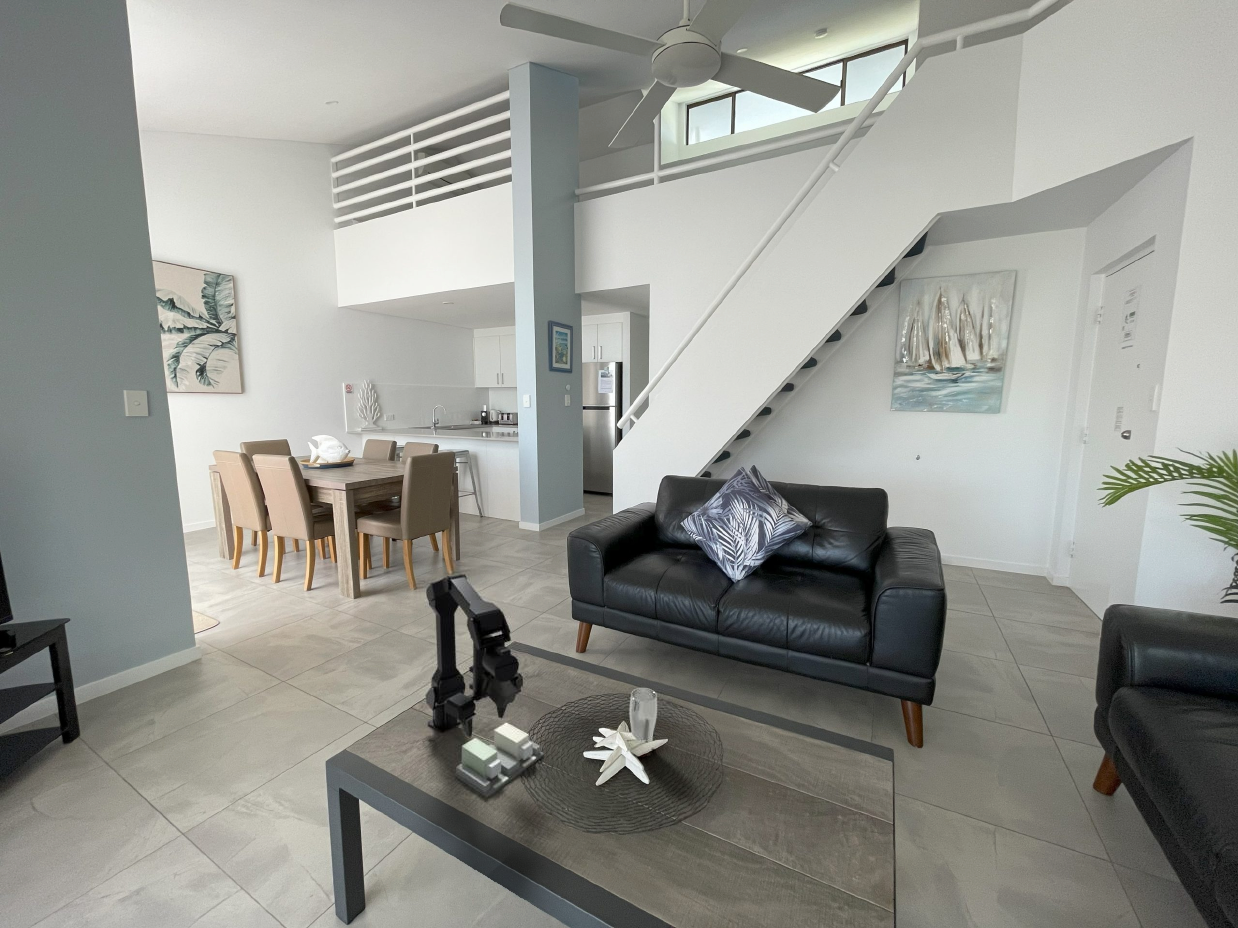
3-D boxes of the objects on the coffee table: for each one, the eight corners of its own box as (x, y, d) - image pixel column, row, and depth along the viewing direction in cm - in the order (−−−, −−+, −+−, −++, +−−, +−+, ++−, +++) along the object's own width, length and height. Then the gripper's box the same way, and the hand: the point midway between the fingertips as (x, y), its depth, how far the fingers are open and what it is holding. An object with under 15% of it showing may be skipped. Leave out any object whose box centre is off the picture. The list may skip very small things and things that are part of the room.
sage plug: (461, 765, 124) (461, 745, 124) (475, 756, 128) (475, 737, 127) (489, 784, 118) (489, 764, 118) (502, 774, 122) (503, 755, 121)
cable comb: (455, 776, 122) (455, 767, 121) (512, 737, 136) (513, 729, 136) (486, 797, 115) (487, 788, 115) (543, 755, 130) (543, 746, 130)
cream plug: (494, 748, 131) (494, 729, 130) (505, 740, 134) (506, 722, 134) (522, 765, 125) (522, 745, 125) (534, 756, 128) (534, 737, 128)
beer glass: (653, 760, 129) (655, 703, 128) (625, 756, 131) (627, 699, 129) (656, 743, 136) (659, 689, 134) (630, 739, 137) (632, 685, 136)
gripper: (476, 691, 107) (475, 762, 109) (540, 658, 122) (538, 720, 124) (442, 674, 114) (442, 741, 115) (507, 644, 129) (506, 704, 130)
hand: (485, 726), depth 121 cm, fingers open, 9 cm apart
